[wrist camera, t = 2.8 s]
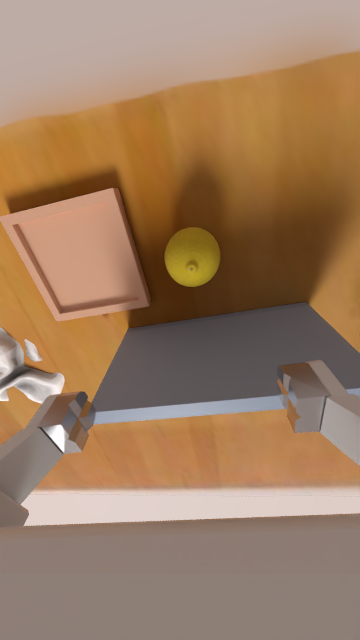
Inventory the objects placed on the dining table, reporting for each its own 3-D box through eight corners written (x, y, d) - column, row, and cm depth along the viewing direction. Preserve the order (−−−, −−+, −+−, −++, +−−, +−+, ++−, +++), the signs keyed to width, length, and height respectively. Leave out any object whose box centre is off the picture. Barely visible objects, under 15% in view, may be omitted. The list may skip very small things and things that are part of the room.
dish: (118, 188, 23) (112, 187, 21) (151, 300, 29) (149, 306, 27) (10, 215, 25) (-2, 217, 23) (63, 315, 31) (56, 321, 29)
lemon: (166, 224, 24) (155, 236, 17) (217, 221, 24) (226, 232, 17) (170, 273, 27) (162, 300, 20) (216, 271, 26) (224, 297, 19)
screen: (305, 301, 28) (392, 385, 16) (303, 334, 30) (376, 428, 18) (128, 328, 31) (86, 412, 19) (138, 355, 34) (107, 445, 22)
